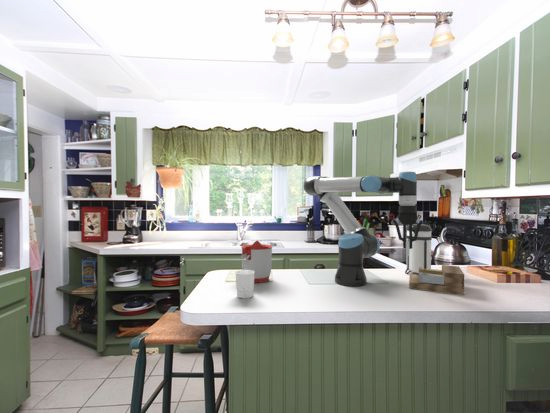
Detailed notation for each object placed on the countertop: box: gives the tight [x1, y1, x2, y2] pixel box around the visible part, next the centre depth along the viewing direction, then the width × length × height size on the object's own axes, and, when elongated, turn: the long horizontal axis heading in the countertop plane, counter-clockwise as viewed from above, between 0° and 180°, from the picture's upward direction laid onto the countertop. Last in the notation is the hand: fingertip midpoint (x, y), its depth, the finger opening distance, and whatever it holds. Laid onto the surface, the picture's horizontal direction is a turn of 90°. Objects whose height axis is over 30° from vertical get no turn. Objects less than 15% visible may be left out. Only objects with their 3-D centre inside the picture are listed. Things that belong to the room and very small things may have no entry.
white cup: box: [235, 269, 255, 299], centre depth 116 cm, size 8×8×10 cm
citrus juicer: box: [240, 240, 273, 284], centre depth 140 cm, size 16×17×20 cm
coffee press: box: [404, 223, 433, 275], centre depth 156 cm, size 17×16×30 cm
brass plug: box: [419, 267, 443, 275], centre depth 135 cm, size 11×4×4 cm, turn 63°
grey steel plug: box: [418, 272, 445, 285], centre depth 126 cm, size 11×4×4 cm, turn 63°
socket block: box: [408, 264, 465, 296], centre depth 130 cm, size 21×17×9 cm
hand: (407, 255), depth 130 cm, fingers closed
